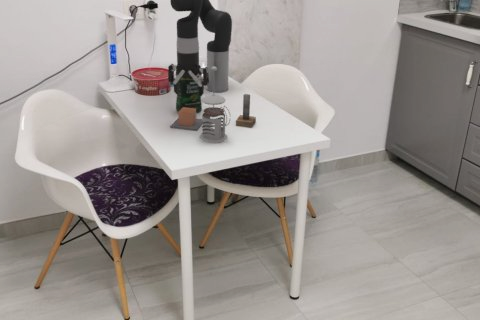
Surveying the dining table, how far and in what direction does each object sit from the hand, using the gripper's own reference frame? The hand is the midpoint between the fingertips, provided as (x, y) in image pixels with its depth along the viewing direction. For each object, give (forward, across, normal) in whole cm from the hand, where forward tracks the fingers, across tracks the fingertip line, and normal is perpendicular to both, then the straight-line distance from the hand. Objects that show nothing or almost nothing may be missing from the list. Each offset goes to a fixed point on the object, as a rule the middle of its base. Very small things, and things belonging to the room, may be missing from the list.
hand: (188, 94), depth 189 cm
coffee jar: (+12, -4, +13) cm, 18 cm away
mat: (+11, -1, 0) cm, 11 cm away
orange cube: (+11, -1, -1) cm, 11 cm away
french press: (+12, +12, -9) cm, 19 cm away
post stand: (+12, +20, +7) cm, 24 cm away
